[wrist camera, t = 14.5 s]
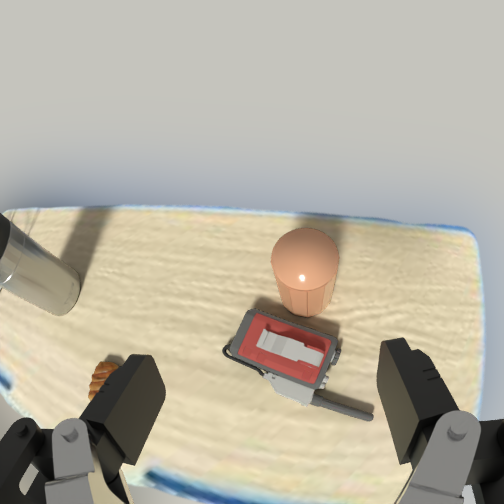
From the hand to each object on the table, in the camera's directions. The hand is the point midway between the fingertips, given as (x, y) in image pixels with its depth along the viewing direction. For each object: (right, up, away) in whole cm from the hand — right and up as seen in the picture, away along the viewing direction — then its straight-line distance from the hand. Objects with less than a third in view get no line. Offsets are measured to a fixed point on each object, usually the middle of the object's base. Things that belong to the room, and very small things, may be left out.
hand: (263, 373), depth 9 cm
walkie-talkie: (+6, -10, +24) cm, 26 cm away
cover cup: (+7, -1, +28) cm, 28 cm away
